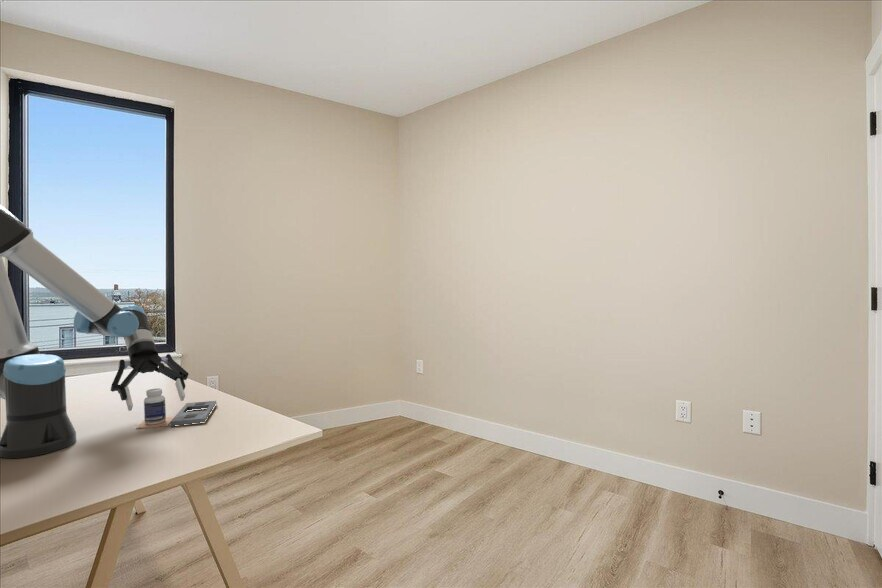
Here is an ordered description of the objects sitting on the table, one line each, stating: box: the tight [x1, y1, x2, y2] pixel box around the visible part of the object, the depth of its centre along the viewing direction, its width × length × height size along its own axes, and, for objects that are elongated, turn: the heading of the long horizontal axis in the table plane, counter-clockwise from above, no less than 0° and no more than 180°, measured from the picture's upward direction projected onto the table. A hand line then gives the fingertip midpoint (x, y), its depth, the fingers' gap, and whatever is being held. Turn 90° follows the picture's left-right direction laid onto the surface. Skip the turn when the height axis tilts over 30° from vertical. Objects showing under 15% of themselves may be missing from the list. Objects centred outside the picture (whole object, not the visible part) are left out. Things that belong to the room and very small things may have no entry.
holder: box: [169, 400, 217, 427], centre depth 144 cm, size 20×9×2 cm, turn 17°
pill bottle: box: [143, 387, 167, 425], centre depth 136 cm, size 5×5×10 cm
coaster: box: [135, 416, 175, 430], centre depth 137 cm, size 8×8×1 cm
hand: (157, 403), depth 135 cm, fingers open, 13 cm apart
